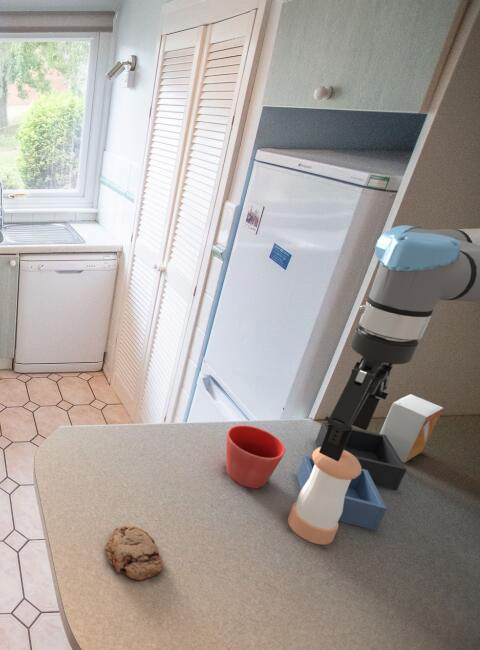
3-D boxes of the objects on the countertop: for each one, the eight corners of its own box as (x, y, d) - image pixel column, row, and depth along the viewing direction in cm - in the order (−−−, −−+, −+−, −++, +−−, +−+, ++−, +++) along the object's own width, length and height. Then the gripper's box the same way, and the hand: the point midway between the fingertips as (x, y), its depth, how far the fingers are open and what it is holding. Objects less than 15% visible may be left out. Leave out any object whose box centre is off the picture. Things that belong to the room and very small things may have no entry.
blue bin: (358, 491, 97) (367, 469, 94) (376, 531, 87) (387, 508, 85) (296, 475, 101) (304, 455, 98) (307, 512, 91) (316, 490, 89)
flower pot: (225, 489, 97) (236, 453, 93) (213, 455, 107) (222, 421, 103) (281, 498, 95) (294, 462, 91) (263, 462, 105) (274, 428, 101)
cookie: (155, 534, 87) (157, 523, 86) (166, 586, 77) (169, 574, 76) (101, 527, 89) (103, 516, 87) (106, 577, 79) (108, 565, 78)
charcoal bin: (377, 454, 107) (385, 435, 104) (396, 490, 97) (406, 469, 94) (315, 441, 111) (322, 422, 109) (328, 474, 101) (336, 453, 99)
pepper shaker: (304, 509, 92) (333, 433, 85) (342, 537, 86) (377, 458, 78) (278, 519, 90) (306, 442, 82) (316, 550, 84) (349, 469, 76)
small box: (405, 463, 104) (427, 417, 99) (372, 447, 109) (392, 402, 104) (422, 453, 107) (444, 407, 102) (390, 437, 112) (409, 393, 107)
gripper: (382, 306, 81) (343, 405, 89) (329, 344, 67) (289, 457, 76) (440, 320, 75) (392, 424, 83) (394, 365, 62) (343, 484, 70)
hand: (343, 440), depth 80 cm, fingers open, 13 cm apart
